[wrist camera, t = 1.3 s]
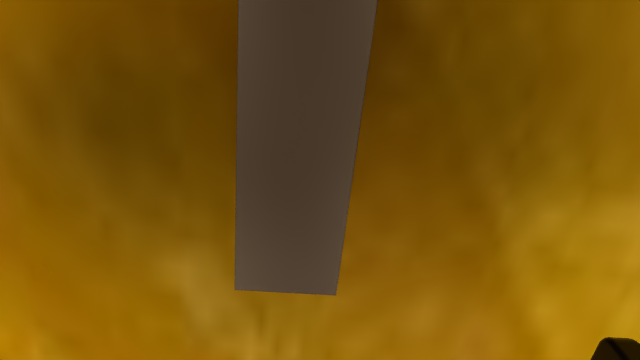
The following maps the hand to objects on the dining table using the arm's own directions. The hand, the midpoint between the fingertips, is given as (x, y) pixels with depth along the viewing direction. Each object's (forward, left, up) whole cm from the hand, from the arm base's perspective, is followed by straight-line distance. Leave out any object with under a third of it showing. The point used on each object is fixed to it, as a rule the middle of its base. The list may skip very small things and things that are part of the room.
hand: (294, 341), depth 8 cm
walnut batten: (0, -7, -10) cm, 12 cm away
